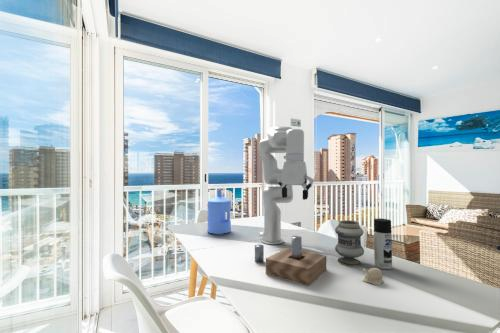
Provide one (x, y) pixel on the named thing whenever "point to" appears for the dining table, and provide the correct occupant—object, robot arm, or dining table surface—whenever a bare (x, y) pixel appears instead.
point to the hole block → (296, 266)
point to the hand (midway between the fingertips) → (294, 198)
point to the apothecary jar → (349, 242)
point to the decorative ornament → (373, 276)
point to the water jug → (219, 214)
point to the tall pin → (296, 247)
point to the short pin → (259, 253)
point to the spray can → (383, 243)
